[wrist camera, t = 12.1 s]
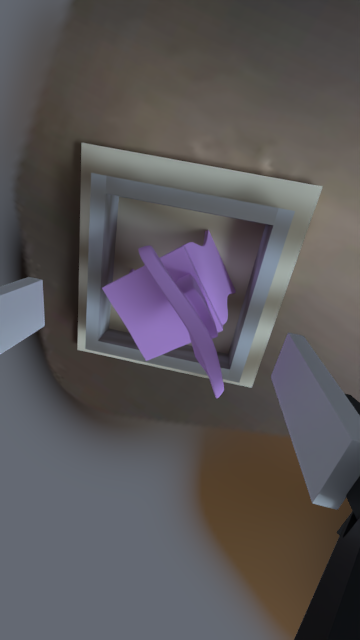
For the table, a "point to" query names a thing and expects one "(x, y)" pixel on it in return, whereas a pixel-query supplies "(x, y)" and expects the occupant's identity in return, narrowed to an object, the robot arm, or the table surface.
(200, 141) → the table surface
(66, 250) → the table surface
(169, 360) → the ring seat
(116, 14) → the table surface
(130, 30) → the table surface
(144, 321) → the toy chair
